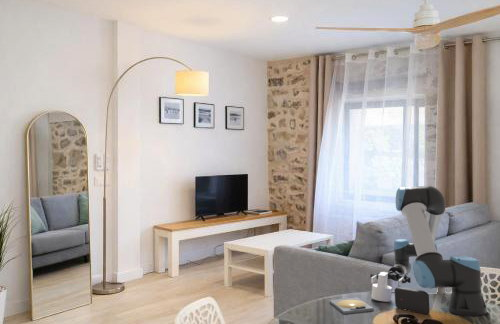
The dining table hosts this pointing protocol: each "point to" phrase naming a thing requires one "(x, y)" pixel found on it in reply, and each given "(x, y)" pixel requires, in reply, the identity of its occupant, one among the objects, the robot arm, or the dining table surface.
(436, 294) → the dining table surface
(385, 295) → the base with upright slab
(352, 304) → the plate
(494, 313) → the dining table surface
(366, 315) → the dining table surface
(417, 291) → the black two-tone rounded device
